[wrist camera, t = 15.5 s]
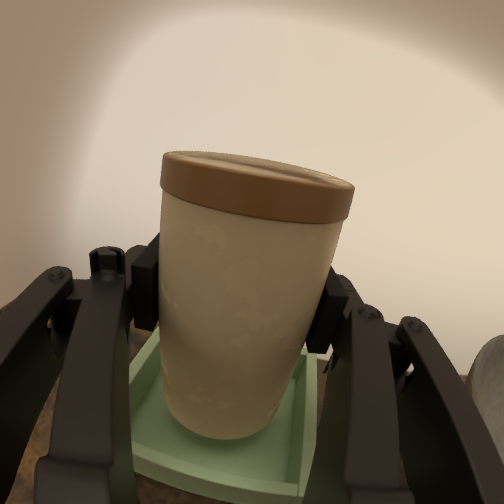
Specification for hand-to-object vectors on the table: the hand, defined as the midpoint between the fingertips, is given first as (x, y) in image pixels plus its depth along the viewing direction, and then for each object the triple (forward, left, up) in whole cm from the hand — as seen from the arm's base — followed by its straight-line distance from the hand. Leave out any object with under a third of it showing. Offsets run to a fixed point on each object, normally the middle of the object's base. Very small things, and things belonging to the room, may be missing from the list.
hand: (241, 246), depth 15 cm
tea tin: (+1, -5, -6) cm, 8 cm away
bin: (+1, -5, -9) cm, 11 cm away
